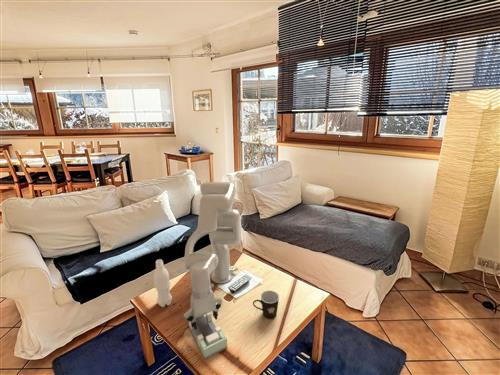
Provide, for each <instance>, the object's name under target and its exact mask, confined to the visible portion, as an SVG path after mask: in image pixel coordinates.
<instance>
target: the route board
mask: <svg viewBox="0 0 500 375" xmlns="http://www.w3.org/2000/svg"><path fill="white" fill-rule="evenodd" d="M204 317H205V319H206V320H207V322H208V324H209V326H210V327H211V329H212V331H213V333H215V332H217V333H218V335H219V337H220V340H219V341H217V342H215V343H213V344H211V345H209V346H207V345H206V339H205V337H204V335H203V333H202V331H201V330H200V328H199V326H198V324H197V322H196V320H195V322H196V328H197V329H196V330H195V329H194V327H192V325H191V322H190V321H188V325H187V326H188V328H189V329H191V330H190V332H191V333H192V336H193V338H194V340H195V342H196V344H197V346H198V348H199V350H200V352H201V355H202V357H203V358H204V360H207V359H208V358H210V357H212V356H215V355H216V354H217V353H221V352H222V351H224V350H226V349H228V337H227V336H226V334H225V333H224V331H223V330H222V328H221V327H220V325H218V326H216V325H215V323H214V321H213V318H212V317H213V313H212V312H209V313H207V314H205V315H204Z"/></svg>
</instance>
